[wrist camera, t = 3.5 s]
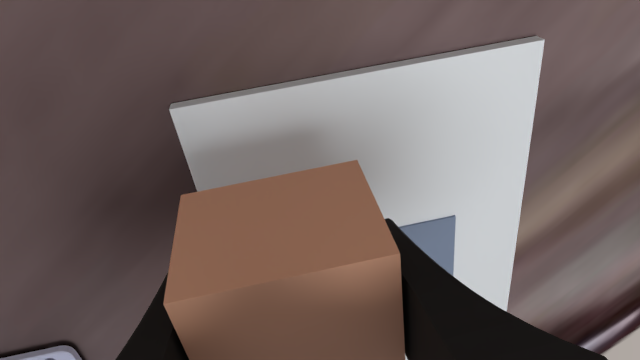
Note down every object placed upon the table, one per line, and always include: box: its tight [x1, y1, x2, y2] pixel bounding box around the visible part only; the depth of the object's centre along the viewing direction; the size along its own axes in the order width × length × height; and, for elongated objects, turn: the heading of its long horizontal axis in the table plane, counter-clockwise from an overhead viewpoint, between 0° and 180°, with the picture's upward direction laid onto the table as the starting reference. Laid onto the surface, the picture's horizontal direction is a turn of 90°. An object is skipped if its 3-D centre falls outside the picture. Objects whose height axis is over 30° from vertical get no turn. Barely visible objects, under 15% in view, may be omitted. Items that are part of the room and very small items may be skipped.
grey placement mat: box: [169, 36, 545, 360], centre depth 21 cm, size 13×20×1 cm, turn 7°
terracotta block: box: [163, 160, 405, 360], centre depth 13 cm, size 5×5×4 cm
